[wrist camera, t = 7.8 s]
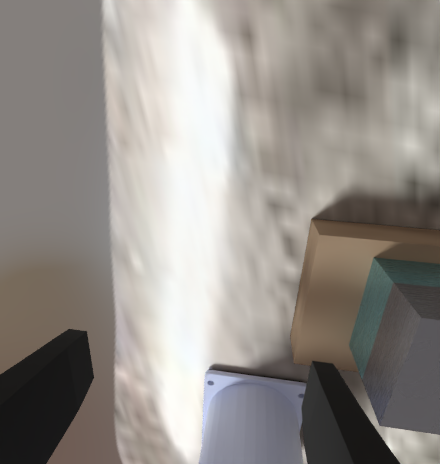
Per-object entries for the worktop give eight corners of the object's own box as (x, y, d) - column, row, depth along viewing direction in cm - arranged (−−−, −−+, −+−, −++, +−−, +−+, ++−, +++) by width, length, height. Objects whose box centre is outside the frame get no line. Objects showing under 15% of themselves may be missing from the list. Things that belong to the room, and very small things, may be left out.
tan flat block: (437, 354, 20) (460, 385, 18) (290, 336, 21) (293, 363, 19) (489, 234, 17) (526, 254, 15) (311, 218, 18) (319, 234, 16)
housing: (418, 353, 18) (474, 439, 13) (348, 345, 18) (379, 425, 13) (453, 265, 15) (538, 331, 11) (373, 257, 16) (421, 317, 11)
